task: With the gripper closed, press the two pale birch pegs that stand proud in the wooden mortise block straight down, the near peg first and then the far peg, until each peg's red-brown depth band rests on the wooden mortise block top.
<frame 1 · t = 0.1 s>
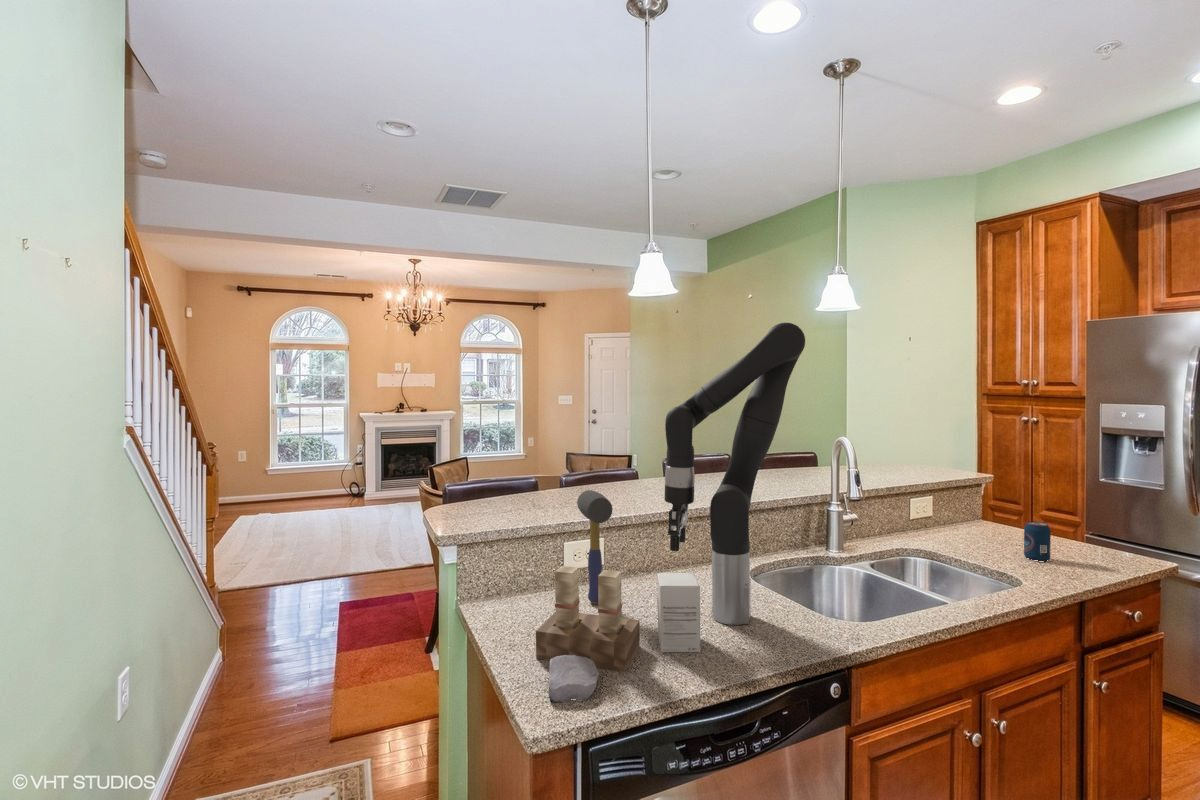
hand: (677, 546, 149), 17 cm above the worktop, tool pointing down, fingers open, 8 cm apart
stone block: (574, 688, 114), on the worktop
wooden mortise block: (589, 652, 128), on the worktop
supplement box: (678, 644, 132), on the worktop
soda can: (1036, 560, 190), on the worktop
rubber mallet: (595, 603, 157), on the worktop
far birch peg: (567, 598, 129), point 11 cm above the worktop, slide at 4.0 cm
near birch peg: (610, 603, 126), point 11 cm above the worktop, slide at 4.0 cm
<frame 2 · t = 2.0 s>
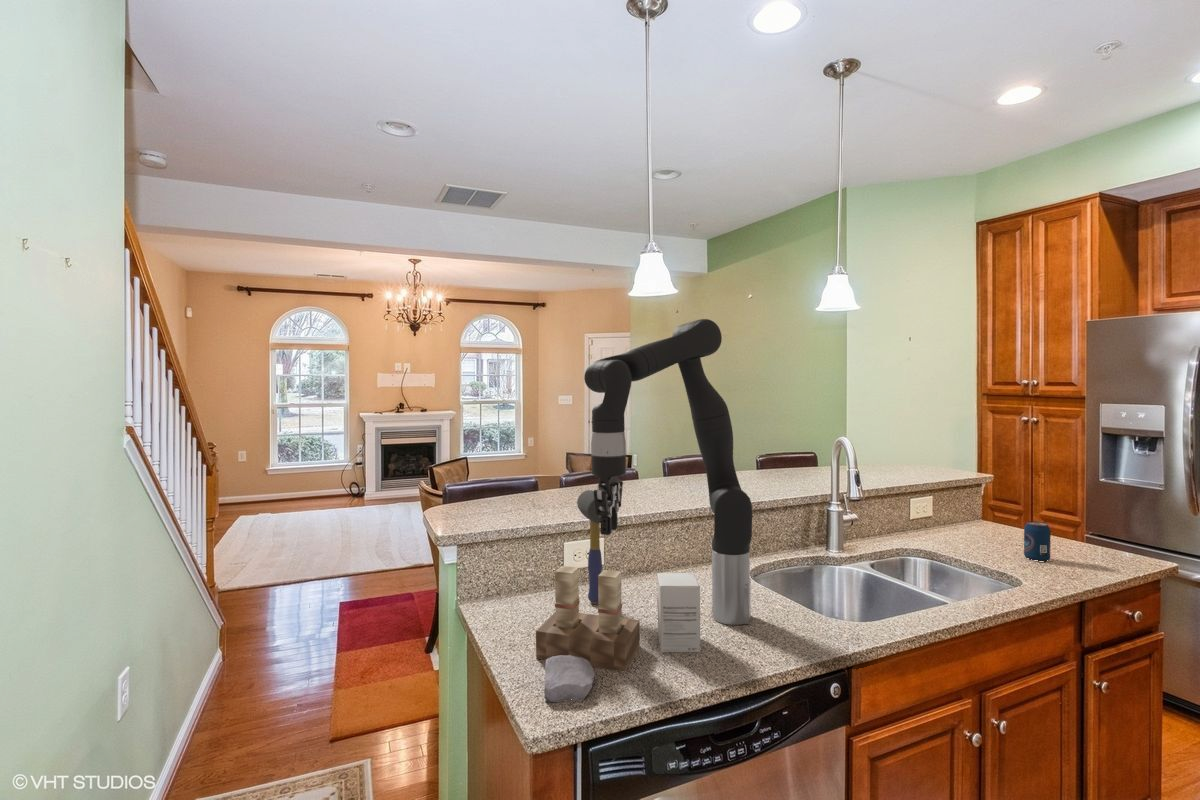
hand: (609, 531, 125), 27 cm above the worktop, tool pointing down, fingers open, 4 cm apart
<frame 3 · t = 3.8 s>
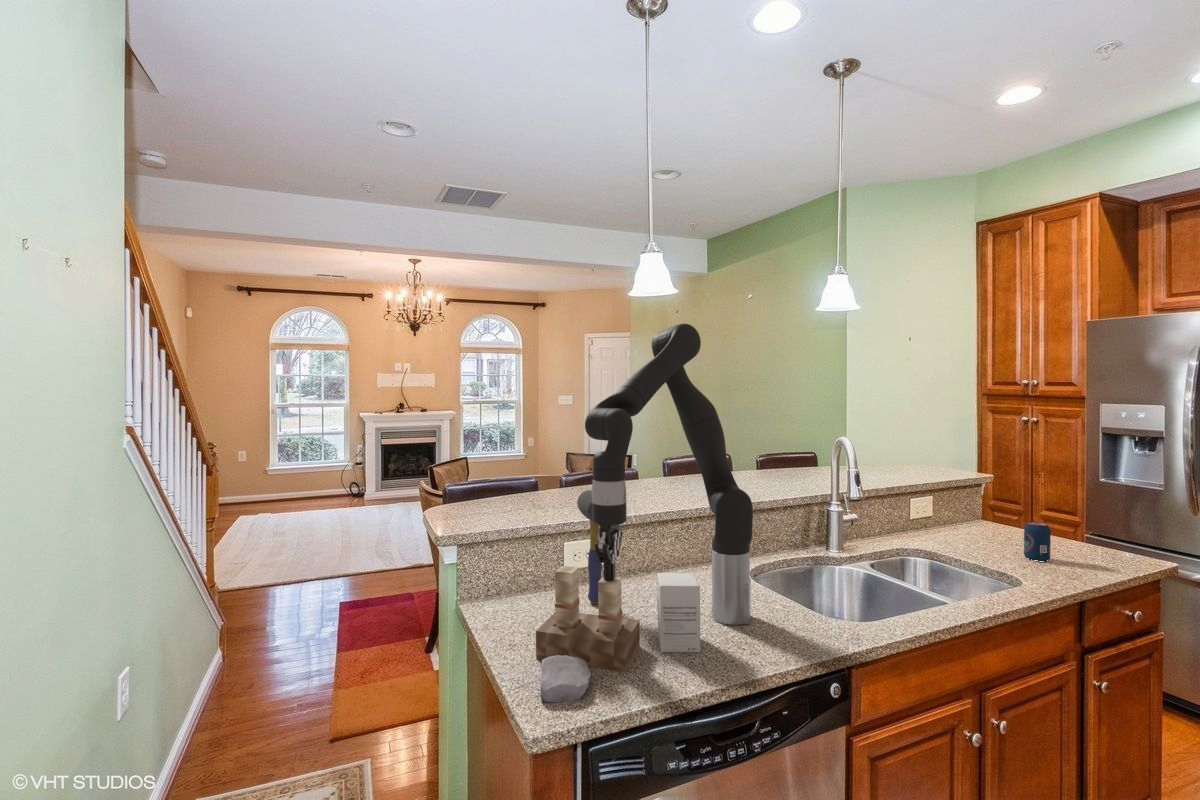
hand: (609, 579, 126), 17 cm above the worktop, tool pointing down, fingers closed
near birch peg: (610, 609, 126), point 10 cm above the worktop, slide at 2.7 cm, touching gripper
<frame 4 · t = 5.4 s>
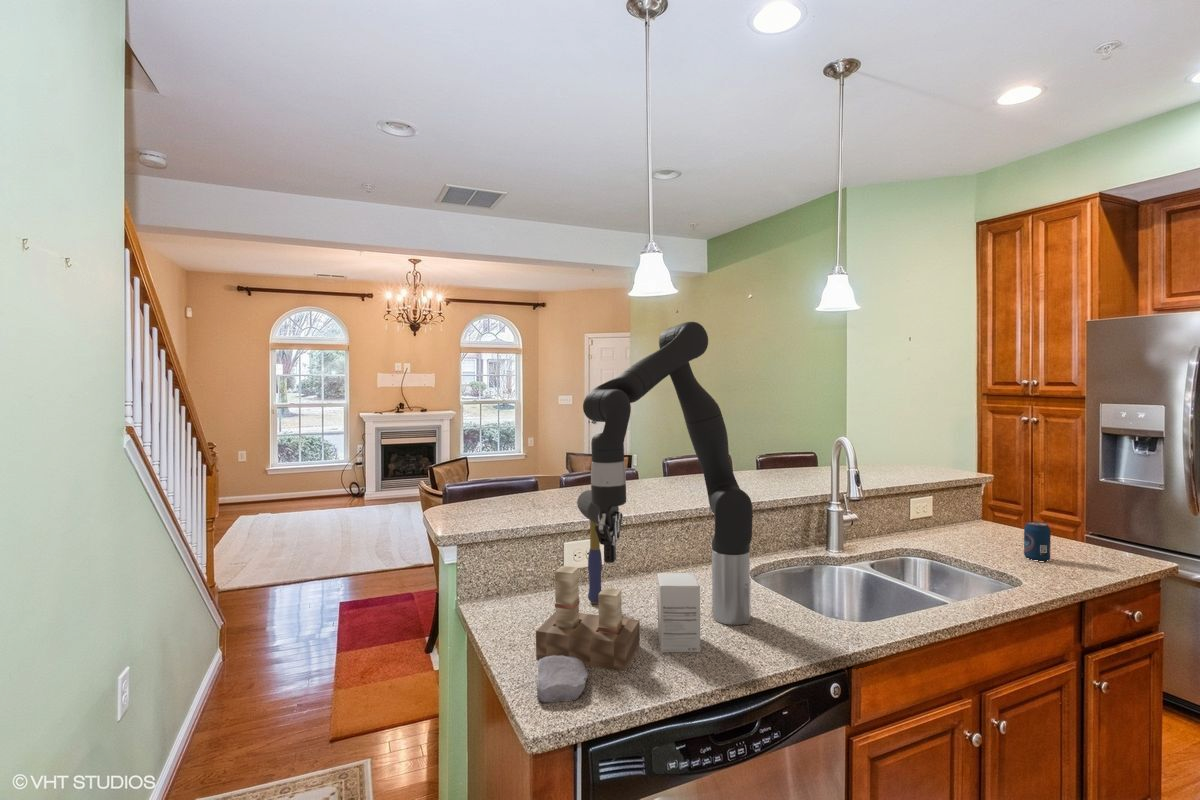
hand: (610, 561, 125), 21 cm above the worktop, tool pointing down, fingers closed
near birch peg: (610, 621, 126), point 8 cm above the worktop, slide at 0.0 cm
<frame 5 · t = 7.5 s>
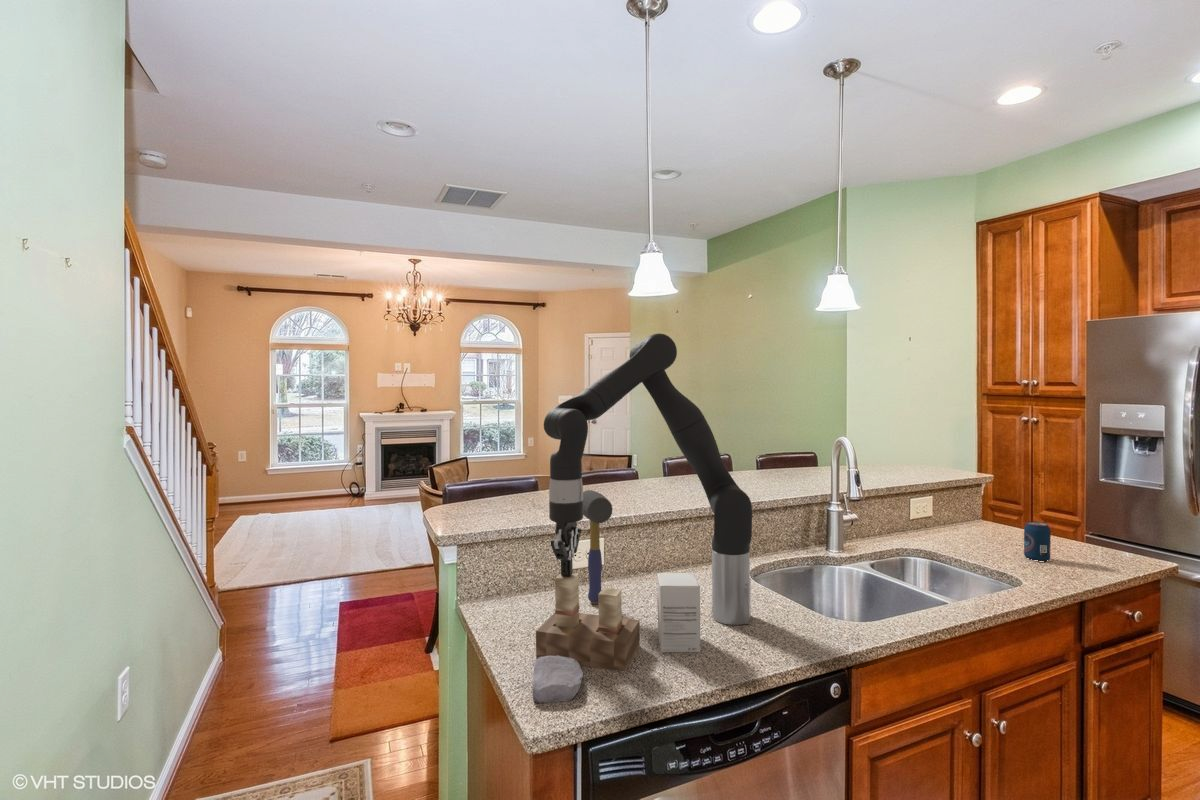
hand: (566, 575, 129), 17 cm above the worktop, tool pointing down, fingers closed
far birch peg: (567, 604, 129), point 10 cm above the worktop, slide at 2.6 cm, touching gripper
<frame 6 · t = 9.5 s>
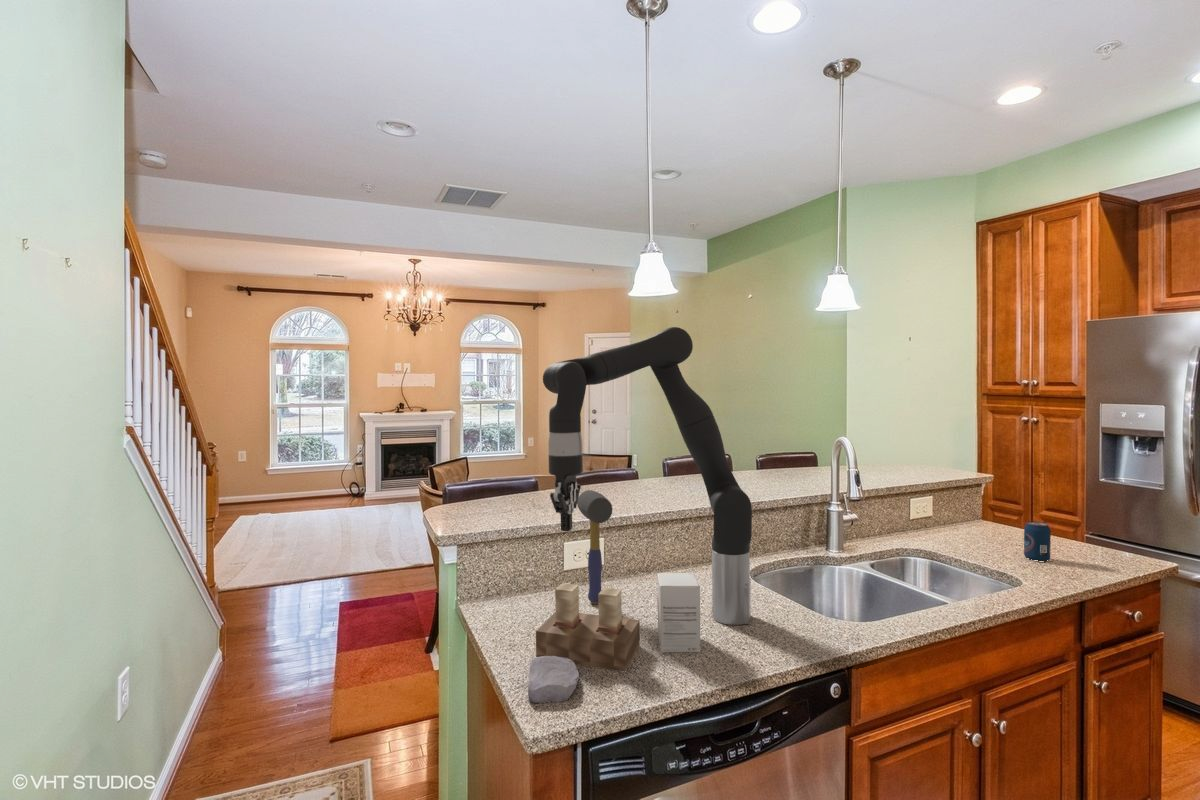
hand: (566, 530, 129), 27 cm above the worktop, tool pointing down, fingers closed
far birch peg: (567, 615, 129), point 8 cm above the worktop, slide at 0.0 cm
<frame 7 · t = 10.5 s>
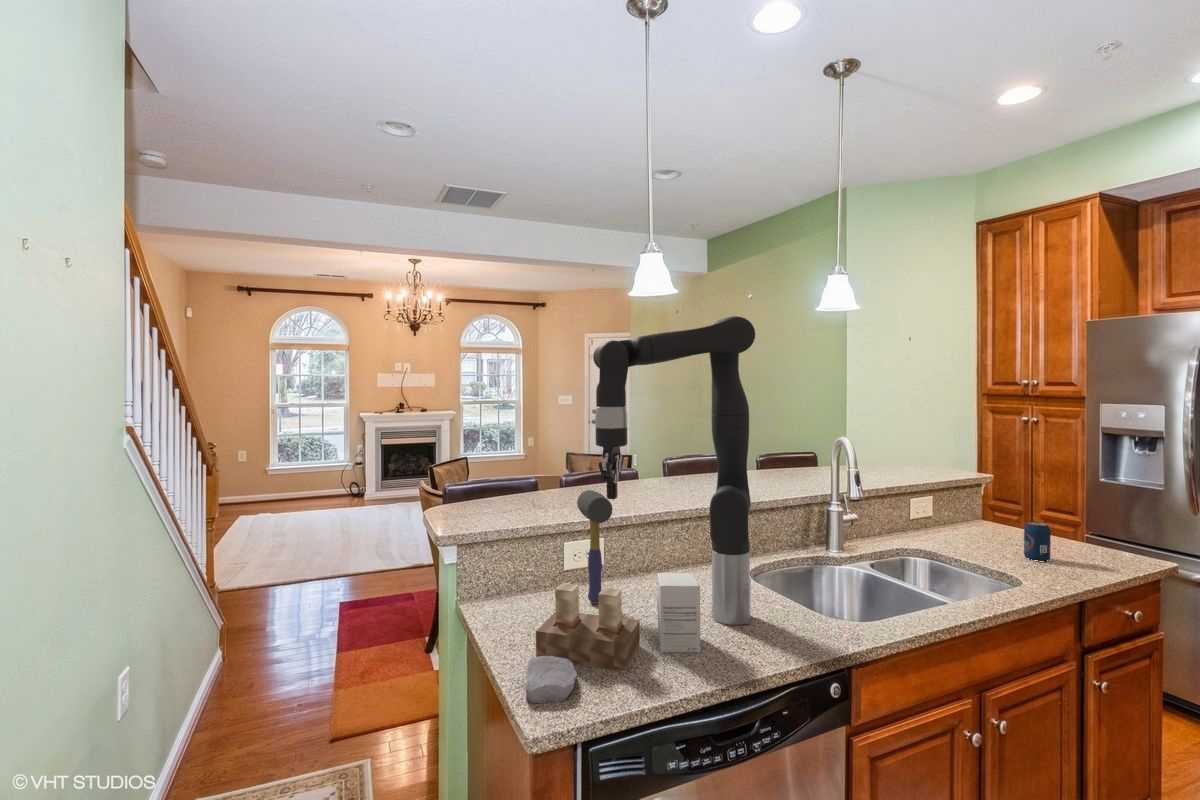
hand: (612, 498, 138), 32 cm above the worktop, tool pointing down, fingers closed
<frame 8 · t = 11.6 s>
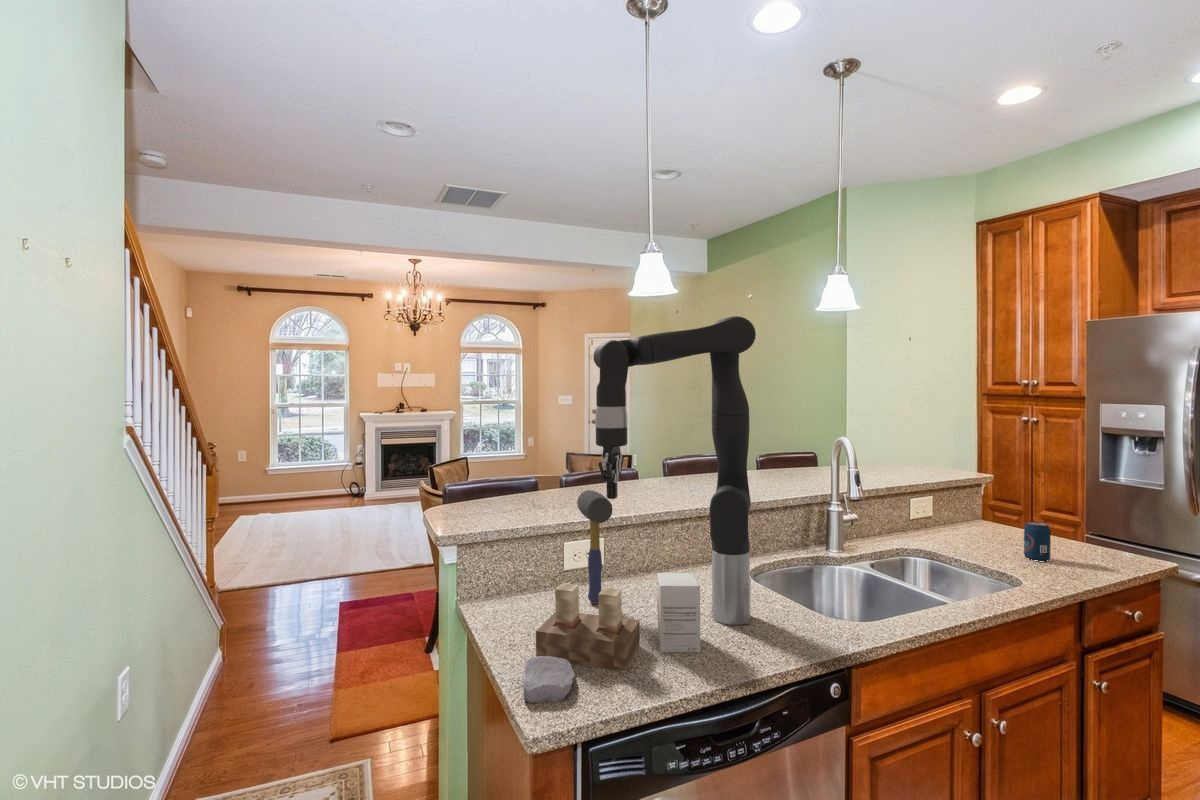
hand: (612, 498, 138), 32 cm above the worktop, tool pointing down, fingers closed
at the end: near birch peg slide at 0.0 cm; far birch peg slide at 0.0 cm; far birch peg touching nothing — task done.
